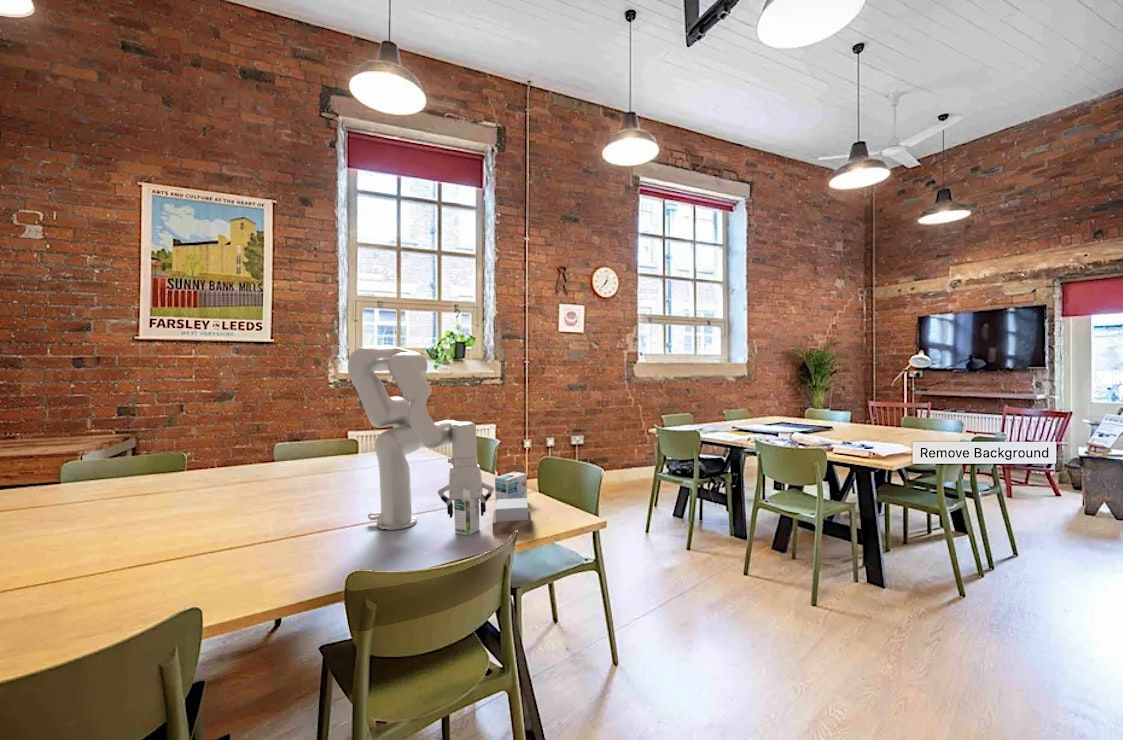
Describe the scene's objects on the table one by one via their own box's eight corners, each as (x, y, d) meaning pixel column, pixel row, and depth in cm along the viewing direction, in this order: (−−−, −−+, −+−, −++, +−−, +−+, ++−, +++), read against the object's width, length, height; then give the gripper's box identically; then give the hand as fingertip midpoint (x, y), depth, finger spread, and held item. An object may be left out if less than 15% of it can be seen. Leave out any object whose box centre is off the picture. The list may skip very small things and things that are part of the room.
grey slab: (495, 521, 154) (495, 509, 154) (497, 511, 164) (496, 499, 164) (528, 520, 155) (527, 507, 155) (527, 509, 165) (527, 497, 165)
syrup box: (454, 533, 155) (452, 487, 154) (466, 527, 160) (464, 482, 160) (468, 536, 152) (467, 489, 152) (480, 529, 158) (479, 484, 157)
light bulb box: (508, 509, 176) (507, 479, 176) (494, 506, 180) (493, 477, 180) (528, 502, 185) (527, 473, 184) (514, 499, 189) (514, 471, 188)
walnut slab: (492, 535, 153) (492, 523, 153) (494, 522, 165) (494, 510, 165) (531, 533, 155) (531, 520, 154) (530, 520, 166) (530, 508, 166)
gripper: (435, 465, 151) (437, 521, 152) (492, 463, 153) (494, 517, 153) (438, 460, 158) (440, 513, 159) (493, 457, 160) (495, 510, 161)
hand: (466, 515), depth 156 cm, fingers open, 9 cm apart
